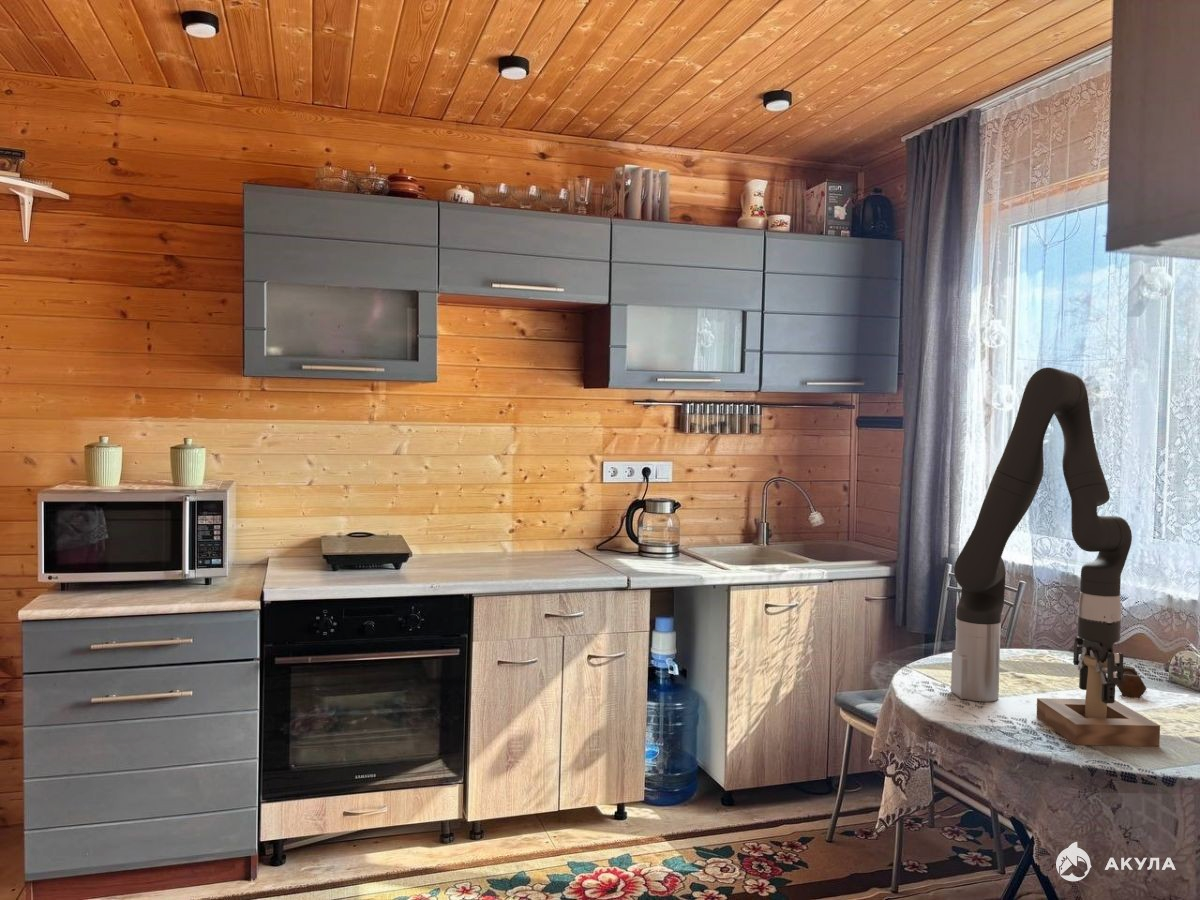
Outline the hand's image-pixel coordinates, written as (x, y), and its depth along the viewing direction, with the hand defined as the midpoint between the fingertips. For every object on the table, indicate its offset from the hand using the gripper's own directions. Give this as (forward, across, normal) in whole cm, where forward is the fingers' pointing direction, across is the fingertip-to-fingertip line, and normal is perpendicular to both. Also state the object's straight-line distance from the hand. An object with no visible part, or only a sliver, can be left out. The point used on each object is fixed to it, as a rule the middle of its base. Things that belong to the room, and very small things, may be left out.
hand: (1096, 696), depth 182 cm
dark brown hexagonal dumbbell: (+8, -30, +23) cm, 38 cm away
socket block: (+7, 0, 0) cm, 7 cm away
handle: (+7, 0, 0) cm, 7 cm away
